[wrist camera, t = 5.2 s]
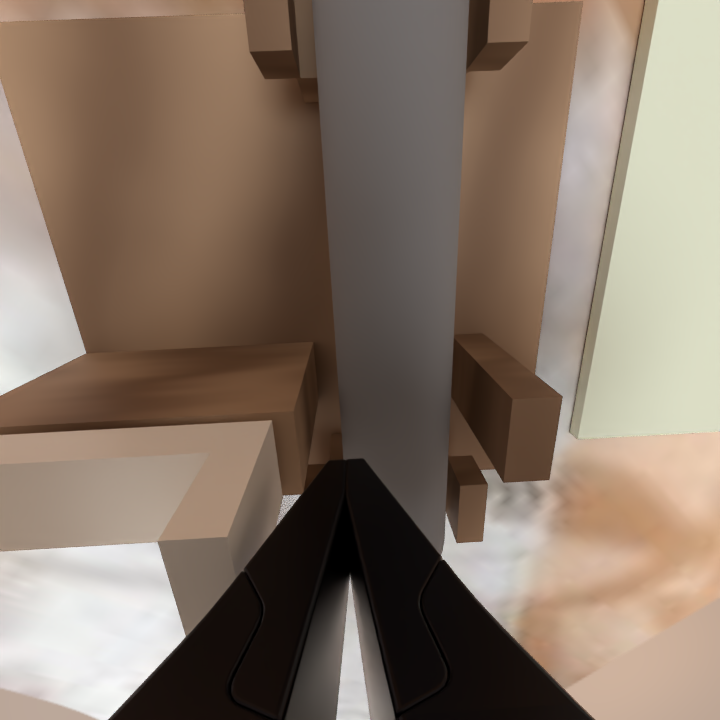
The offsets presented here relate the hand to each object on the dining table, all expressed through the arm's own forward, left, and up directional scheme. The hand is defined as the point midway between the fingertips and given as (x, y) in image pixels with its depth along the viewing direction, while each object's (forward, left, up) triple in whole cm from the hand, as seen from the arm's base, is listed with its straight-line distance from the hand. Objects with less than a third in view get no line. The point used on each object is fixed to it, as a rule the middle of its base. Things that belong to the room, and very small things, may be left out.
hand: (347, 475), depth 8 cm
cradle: (+1, -3, -7) cm, 8 cm away
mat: (-13, -5, -7) cm, 16 cm away
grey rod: (-1, -3, -3) cm, 4 cm away
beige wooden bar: (+5, 0, -1) cm, 5 cm away
